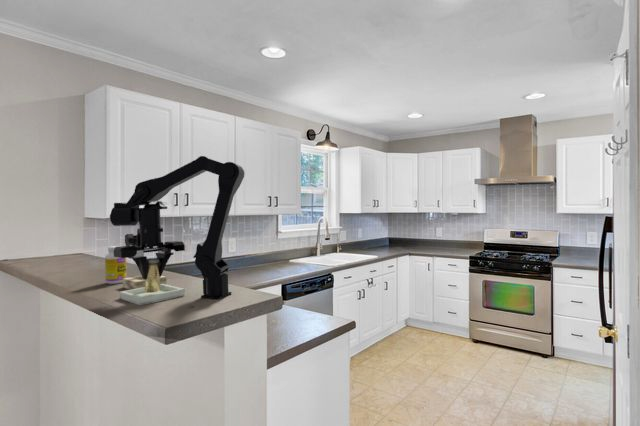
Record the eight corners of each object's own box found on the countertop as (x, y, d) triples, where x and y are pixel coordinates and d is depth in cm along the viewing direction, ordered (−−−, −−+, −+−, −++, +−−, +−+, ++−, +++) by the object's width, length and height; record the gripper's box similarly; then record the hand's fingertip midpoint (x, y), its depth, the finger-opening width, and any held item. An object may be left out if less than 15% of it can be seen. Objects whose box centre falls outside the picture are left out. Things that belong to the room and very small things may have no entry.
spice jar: (165, 289, 112) (163, 257, 112) (152, 293, 107) (151, 260, 107) (152, 288, 114) (151, 257, 113) (139, 292, 109) (138, 259, 109)
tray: (184, 295, 111) (184, 288, 111) (140, 305, 101) (140, 298, 101) (163, 290, 120) (162, 283, 120) (120, 298, 110) (119, 291, 110)
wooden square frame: (166, 285, 126) (166, 276, 126) (136, 291, 119) (136, 281, 119) (152, 282, 133) (152, 273, 133) (123, 287, 125) (122, 278, 125)
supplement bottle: (118, 284, 130) (116, 247, 130) (101, 284, 132) (100, 247, 131) (131, 280, 137) (130, 245, 136) (115, 280, 138) (114, 245, 138)
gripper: (166, 222, 122) (168, 270, 123) (104, 226, 108) (107, 280, 109) (184, 223, 115) (186, 274, 116) (121, 227, 101) (123, 285, 101)
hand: (152, 278), depth 110 cm, fingers closed on spice jar, 4 cm apart
